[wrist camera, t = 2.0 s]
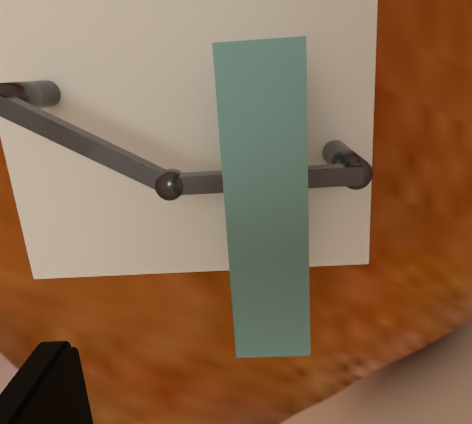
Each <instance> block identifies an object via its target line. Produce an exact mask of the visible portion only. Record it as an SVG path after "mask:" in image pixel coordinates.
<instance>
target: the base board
mask: <svg viewBox="0 0 472 424" xmlns="http://www.w3.org/2000/svg"><path fill="white" fill-rule="evenodd" d="M377 7H378V0H0V83H7V82H24V81H41V80H49V81H52V82H54V83H55V84H56V85H57V86H58V88H59V89H60V93H61V97H60V101H59V102H58V103H57V104H56V105H54V106H51V107H46V108H41V109H42V110H44V111H46V112H48V113H50V114H52V115H54V116H56V117H58V118H60V119H62V120H64V121H66V122H69V123H71V124H73V125H75V126H77V127H79V128H81V129H83V130H85V131H87V132H89V133H91V134H93V135H96V136H98V137H100V138H102V139H104V140H106V141H108V142H110V143H112V144H114V145H116V146H118V147H120V148H123V149H125V150H127V151H129V152H131V153H133V154H135V155H137V156H139V157H141V158H143V159H145V160H147V161H150V162H152V163H154V164H156V165H158V166H160V167H162V168H164V169H166V170H167V169H177V170H179V171H181V172H182V173H185V172H203V171H221V170H222V165H221V152H220V139H219V126H218V113H217V100H216V87H215V74H214V61H213V48H212V43H216V42H230V41H244V40H258V39H272V38H286V37H300V36H306V59H307V135H308V166H309V165H327V162H326V161H325V160H324V158H323V155H322V151H323V148H324V146H325V145H326V144H327V143H328V142H330V141H332V140H339V141H342V142H343V143H344V144H346V145H347V146H348V147H349V148H350V149H352V150H353V151H354V152H355V153H357V154H358V155H359V156H360V157H362V158H363V159H364V160H365V161H367V162H368V163H369V164H370V165H371V167H372V154H373V124H374V95H375V66H376V36H377ZM0 137H1V141H2V146H3V150H4V154H5V158H6V163H7V167H8V171H9V176H10V180H11V184H12V188H13V193H14V197H15V201H16V205H17V210H18V214H19V218H20V223H21V227H22V231H23V235H24V240H25V244H26V248H27V253H28V257H29V261H30V265H31V270H32V274H33V278H34V279H47V278H69V277H91V276H113V275H136V274H158V273H180V272H202V271H224V270H229V257H228V244H227V231H226V218H225V205H224V193H211V194H193V195H180V197H178V198H177V199H175V200H172V201H168V200H164V199H162V198H161V197H159V196H158V194H157V193H156V190H154V189H152V188H150V187H148V186H146V185H144V184H142V183H140V182H137V181H135V180H133V179H131V178H129V177H127V176H125V175H123V174H121V173H118V172H116V171H114V170H112V169H110V168H108V167H106V166H104V165H102V164H99V163H97V162H95V161H93V160H91V159H89V158H87V157H85V156H83V155H80V154H78V153H76V152H74V151H72V150H70V149H68V148H66V147H64V146H62V145H59V144H57V143H55V142H53V141H51V140H49V139H47V138H45V137H43V136H40V135H38V134H36V133H34V132H32V131H30V130H28V129H26V128H24V127H21V126H19V125H17V124H15V123H13V122H11V121H9V120H7V119H5V118H2V117H0ZM371 183H372V180H371V182H370V183H369V184H368V185H367V186H366V187H364V188H362V189H359V190H353V189H350V188H348V187H346V186H341V187H323V188H308V212H309V267H313V266H335V265H358V264H369V242H370V213H371Z"/></svg>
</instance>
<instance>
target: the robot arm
mask: <svg viewBox="0 0 472 424" xmlns="http://www.w3.org/2000/svg"><path fill="white" fill-rule="evenodd" d="M0 424H93V420H92V415H91V410H90V406H89V401H88V396H87V391H86V386H85V381H84V376H83V372H82V367H81V362H80V357H79V352H78V350H77V348H75V347H71V345H70V344H69V342H67V341H54V342H41V343H40V344H39V345H38V346H37V347H36V348H35V350H34V351H33V352H32V354H31V355H30V356H29V358H28V359H27V360H26V361H25V363H24V364H23V365H22V367H21V368H20V369H19V371H18V372H17V373H16V375H15V376H14V377H13V378H12V380H11V381H10V382H9V384H8V385H7V386H6V388H5V389H4V390H3V392H2V393H1V394H0Z"/></svg>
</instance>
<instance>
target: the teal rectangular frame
mask: <svg viewBox="0 0 472 424" xmlns="http://www.w3.org/2000/svg"><path fill="white" fill-rule="evenodd" d="M212 48H213V61H214V74H215V87H216V100H217V113H218V126H219V139H220V152H221V165H222V178H223V192H224V205H225V218H226V231H227V244H228V257H229V270H230V283H231V296H232V309H233V322H234V335H235V348H236V358H254V357H283V356H310V288H309V212H308V135H307V59H306V36H300V37H286V38H272V39H258V40H244V41H230V42H216V43H212Z"/></svg>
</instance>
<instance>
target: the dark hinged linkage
mask: <svg viewBox="0 0 472 424" xmlns="http://www.w3.org/2000/svg"><path fill="white" fill-rule="evenodd" d="M60 97H61V93H60V89H59V88H58V86H57V85H56V84H55V83H54V82H52V81H49V80H41V81H24V82H7V83H0V117H2V118H5V119H7V120H9V121H11V122H13V123H15V124H17V125H19V126H21V127H24V128H26V129H28V130H30V131H32V132H34V133H36V134H38V135H40V136H43V137H45V138H47V139H49V140H51V141H53V142H55V143H57V144H59V145H62V146H64V147H66V148H68V149H70V150H72V151H74V152H76V153H78V154H80V155H83V156H85V157H87V158H89V159H91V160H93V161H95V162H97V163H99V164H102V165H104V166H106V167H108V168H110V169H112V170H114V171H116V172H118V173H121V174H123V175H125V176H127V177H129V178H131V179H133V180H135V181H137V182H140V183H142V184H144V185H146V186H148V187H150V188H152V189H154V190H156V193H157V194H158V196H159V197H161V198H162V199H164V200H168V201H172V200H175V199H177V198H178V197H180V195H193V194H211V193H224V192H223V178H222V170H221V171H203V172H185V173H182V172H181V171H179V170H177V169H167V170H166V169H164V168H162V167H160V166H158V165H156V164H154V163H152V162H150V161H147V160H145V159H143V158H141V157H139V156H137V155H135V154H133V153H131V152H129V151H127V150H125V149H123V148H120V147H118V146H116V145H114V144H112V143H110V142H108V141H106V140H104V139H102V138H100V137H98V136H96V135H93V134H91V133H89V132H87V131H85V130H83V129H81V128H79V127H77V126H75V125H73V124H71V123H69V122H66V121H64V120H62V119H60V118H58V117H56V116H54V115H52V114H50V113H48V112H46V111H44V110H42V109H41V108H46V107H51V106H54V105H56V104H57V103H58V102H59V101H60ZM322 155H323V158H324V160H325V161H326V162H327V165H309V166H308V188H323V187H341V186H346V187H348V188H350V189H353V190H359V189H362V188H364V187H366V186H367V185H368V184H369V183H370V182H371V180H372V177H373V170H372V167H371V165H370V164H369V163H368V162H367V161H365V160H364V159H363V158H362V157H360V156H359V155H358V154H357V153H355V152H354V151H353V150H352V149H350V148H349V147H348V146H347V145H346V144H344V143H343V142H342V141H339V140H332V141H330V142H328V143H327V144H326V145H325V146H324V148H323V151H322Z"/></svg>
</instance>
